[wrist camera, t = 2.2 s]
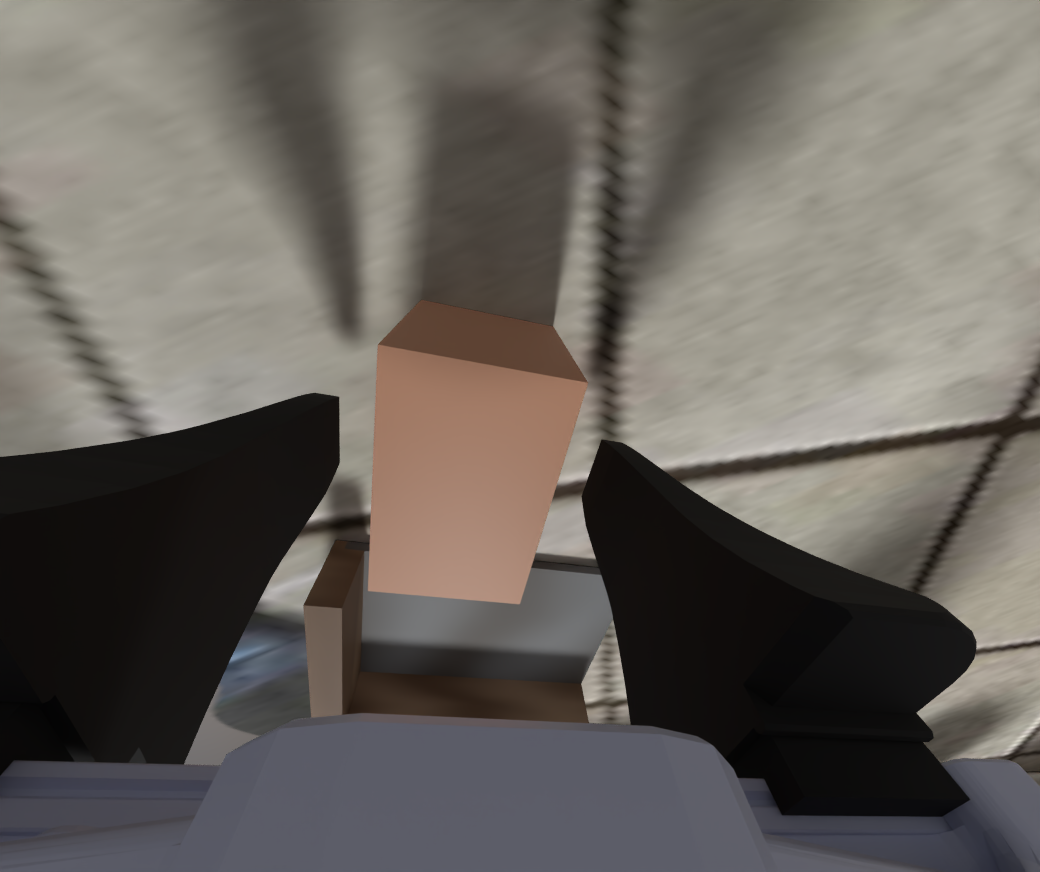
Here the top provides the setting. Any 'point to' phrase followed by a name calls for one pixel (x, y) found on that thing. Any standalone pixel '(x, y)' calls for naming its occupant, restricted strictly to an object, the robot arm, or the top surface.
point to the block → (466, 451)
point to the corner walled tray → (452, 645)
